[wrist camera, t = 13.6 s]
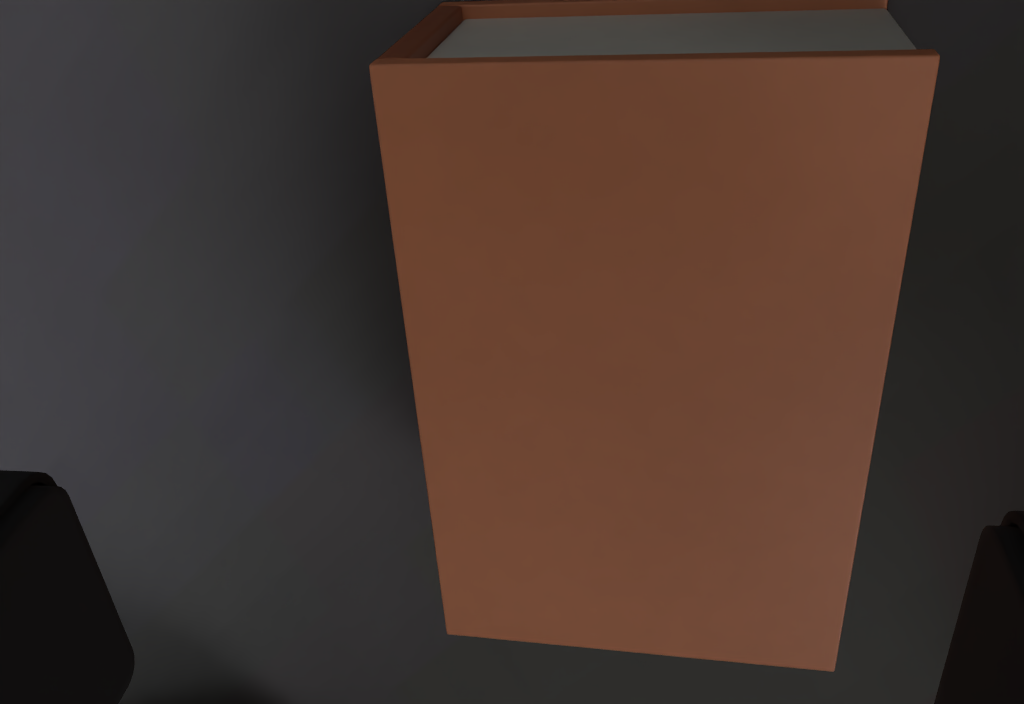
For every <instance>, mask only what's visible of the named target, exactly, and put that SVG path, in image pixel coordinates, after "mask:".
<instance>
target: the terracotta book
mask: <svg viewBox="0 0 1024 704" xmlns="http://www.w3.org/2000/svg"><path fill="white" fill-rule="evenodd" d="M887 4H888V0H493V1H459V2H442V3H441V4H440V5H439V6H438V7H437V8H436V9H434V10H433V11H432V12H431V13H430V14H429V15H427V16H426V17H425V18H424V19H423V20H422V21H420V22H419V23H418V24H417V25H416V26H415V27H413V28H412V29H411V30H410V31H409V32H408V33H407V34H405V35H404V36H403V37H402V38H401V39H400V40H398V41H397V42H396V43H395V44H394V45H393V46H391V47H390V48H389V49H388V50H387V51H386V52H384V53H383V54H382V55H381V56H380V57H379V58H377V59H376V60H374V61H373V62H372V63H371V64H370V65H369V70H370V78H371V85H372V92H373V99H374V107H375V114H376V121H377V129H378V136H379V143H380V150H381V158H382V165H383V172H384V179H385V187H386V194H387V201H388V208H389V216H390V223H391V230H392V238H393V245H394V252H395V259H396V267H397V274H398V281H399V288H400V296H401V303H402V310H403V317H404V325H405V332H406V339H407V347H408V354H409V361H410V368H411V376H412V383H413V390H414V397H415V405H416V412H417V419H418V427H419V434H420V441H421V448H422V456H423V463H424V470H425V477H426V485H427V492H428V499H429V506H430V514H431V521H432V528H433V536H434V543H435V550H436V557H437V565H438V572H439V579H440V586H441V594H442V601H443V608H444V615H445V623H446V630H447V634H452V635H462V636H472V637H482V638H493V639H503V640H513V641H524V642H534V643H544V644H554V645H565V646H575V647H585V648H595V649H606V650H616V651H626V652H637V653H647V654H657V655H667V656H678V657H688V658H698V659H708V660H719V661H729V662H739V663H750V664H760V665H770V666H780V667H791V668H801V669H811V670H821V671H832V672H833V671H834V670H835V665H836V659H837V654H838V648H839V642H840V636H841V630H842V625H843V619H844V613H845V607H846V601H847V595H848V590H849V584H850V578H851V572H852V566H853V561H854V555H855V549H856V543H857V537H858V532H859V526H860V520H861V514H862V508H863V502H864V497H865V491H866V485H867V479H868V473H869V468H870V462H871V456H872V450H873V444H874V439H875V433H876V427H877V421H878V415H879V409H880V404H881V398H882V392H883V386H884V380H885V375H886V369H887V363H888V357H889V351H890V346H891V340H892V334H893V328H894V322H895V316H896V311H897V305H898V299H899V293H900V287H901V282H902V276H903V270H904V264H905V258H906V253H907V247H908V241H909V235H910V229H911V223H912V218H913V212H914V206H915V200H916V194H917V189H918V183H919V177H920V171H921V165H922V160H923V154H924V148H925V142H926V136H927V130H928V125H929V119H930V113H931V107H932V101H933V96H934V90H935V84H936V78H937V72H938V67H939V61H940V55H939V54H938V53H937V52H936V50H934V49H916V48H915V46H914V45H913V44H912V42H911V41H910V40H909V38H908V37H907V36H906V34H905V33H904V32H903V30H902V29H901V28H900V26H899V25H898V24H897V23H896V21H895V20H894V19H893V17H892V16H891V15H890V13H889V12H888V11H887Z"/></svg>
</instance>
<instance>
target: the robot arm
mask: <svg viewBox="0 0 1024 704" xmlns="http://www.w3.org/2000/svg"><path fill="white" fill-rule="evenodd" d="M133 671H134V653H133V649H132V646H131V644H130V642H129V639H128V637H127V634H126V632H125V630H124V627H123V625H122V622H121V620H120V618H119V615H118V613H117V610H116V608H115V606H114V603H113V601H112V598H111V596H110V593H109V591H108V589H107V586H106V584H105V581H104V579H103V577H102V574H101V572H100V569H99V567H98V565H97V562H96V560H95V557H94V555H93V553H92V550H91V548H90V545H89V543H88V541H87V538H86V536H85V533H84V531H83V529H82V526H81V524H80V521H79V519H78V516H77V514H76V512H75V509H74V507H73V504H72V502H71V500H70V497H69V495H68V494H67V492H66V490H64V489H63V488H62V487H58V486H57V485H56V483H55V482H54V480H53V478H52V477H50V476H49V475H48V474H46V473H41V472H26V471H1V470H0V704H118V703H119V702H120V700H121V698H122V696H123V695H124V693H125V691H126V689H127V688H128V685H129V683H130V681H131V678H132V675H133ZM934 704H1024V511H1011V512H1008V513H1007V514H1006V515H1005V516H1004V518H1003V521H1002V523H1001V525H1000V526H986V527H985V528H984V529H983V531H982V533H981V536H980V539H979V543H978V547H977V550H976V554H975V557H974V561H973V565H972V568H971V572H970V576H969V579H968V583H967V587H966V590H965V594H964V597H963V601H962V605H961V608H960V612H959V616H958V619H957V623H956V627H955V630H954V634H953V637H952V641H951V645H950V648H949V652H948V656H947V659H946V663H945V667H944V670H943V674H942V677H941V681H940V685H939V688H938V692H937V696H936V699H935V703H934Z"/></svg>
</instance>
